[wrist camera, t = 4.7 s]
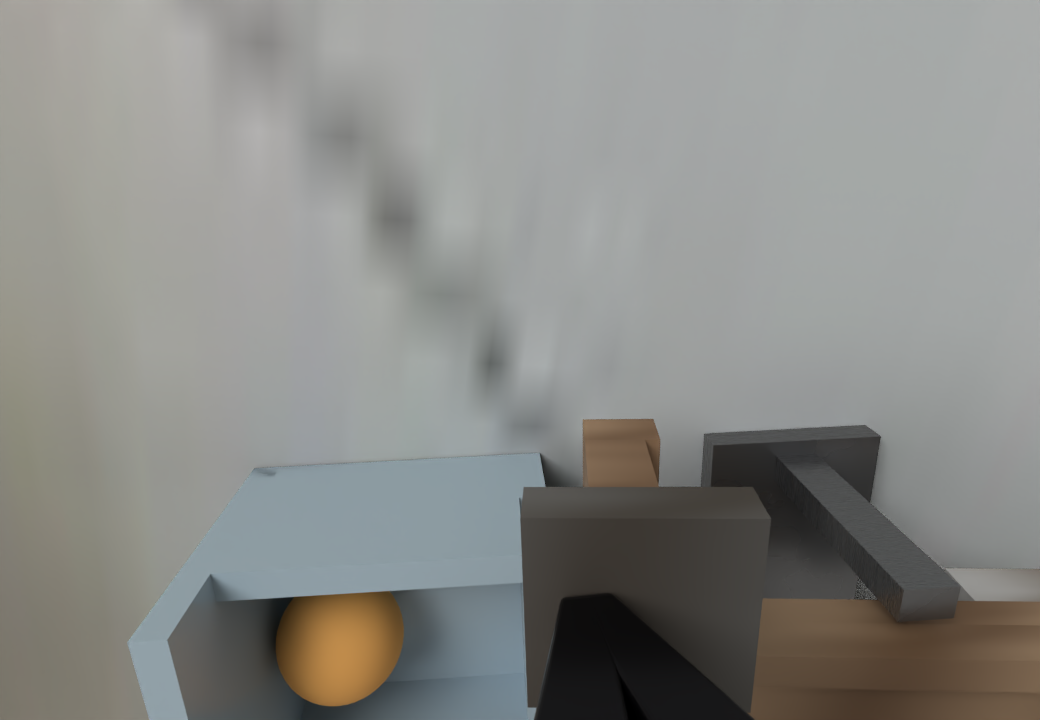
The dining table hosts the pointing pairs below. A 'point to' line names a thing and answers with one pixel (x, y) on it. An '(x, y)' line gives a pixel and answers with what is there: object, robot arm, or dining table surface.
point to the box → (352, 591)
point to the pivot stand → (828, 519)
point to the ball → (339, 645)
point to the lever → (763, 601)
